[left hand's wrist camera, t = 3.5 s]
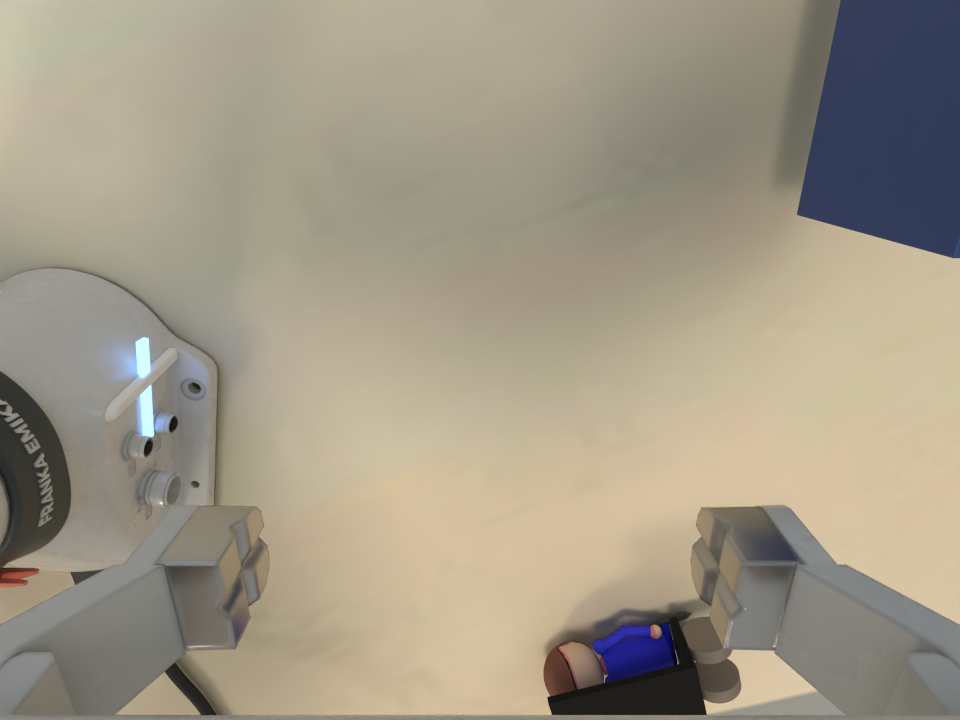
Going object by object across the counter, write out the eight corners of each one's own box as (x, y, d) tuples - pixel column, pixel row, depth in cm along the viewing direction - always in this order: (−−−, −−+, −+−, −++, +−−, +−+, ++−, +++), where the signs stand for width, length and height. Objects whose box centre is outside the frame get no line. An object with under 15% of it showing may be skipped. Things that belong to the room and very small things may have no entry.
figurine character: (698, 576, 48) (528, 631, 48) (746, 648, 41) (548, 714, 41) (710, 633, 51) (548, 686, 51) (758, 711, 44) (570, 773, 44)
